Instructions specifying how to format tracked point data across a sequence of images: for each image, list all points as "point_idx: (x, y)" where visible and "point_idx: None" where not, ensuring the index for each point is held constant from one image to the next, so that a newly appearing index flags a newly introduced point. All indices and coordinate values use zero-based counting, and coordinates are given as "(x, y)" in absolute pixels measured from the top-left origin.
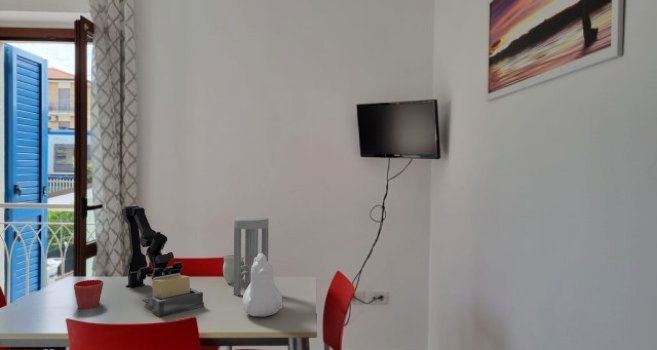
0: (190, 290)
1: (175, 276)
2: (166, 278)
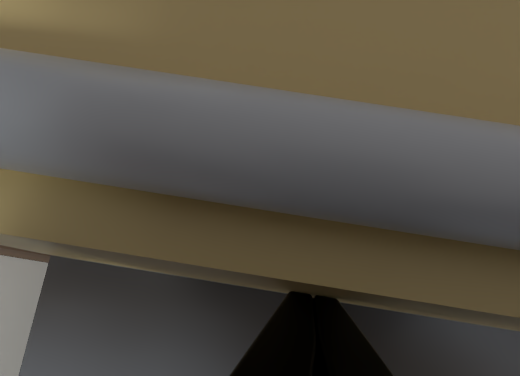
0: None
1: (62, 47)
2: (514, 6)
